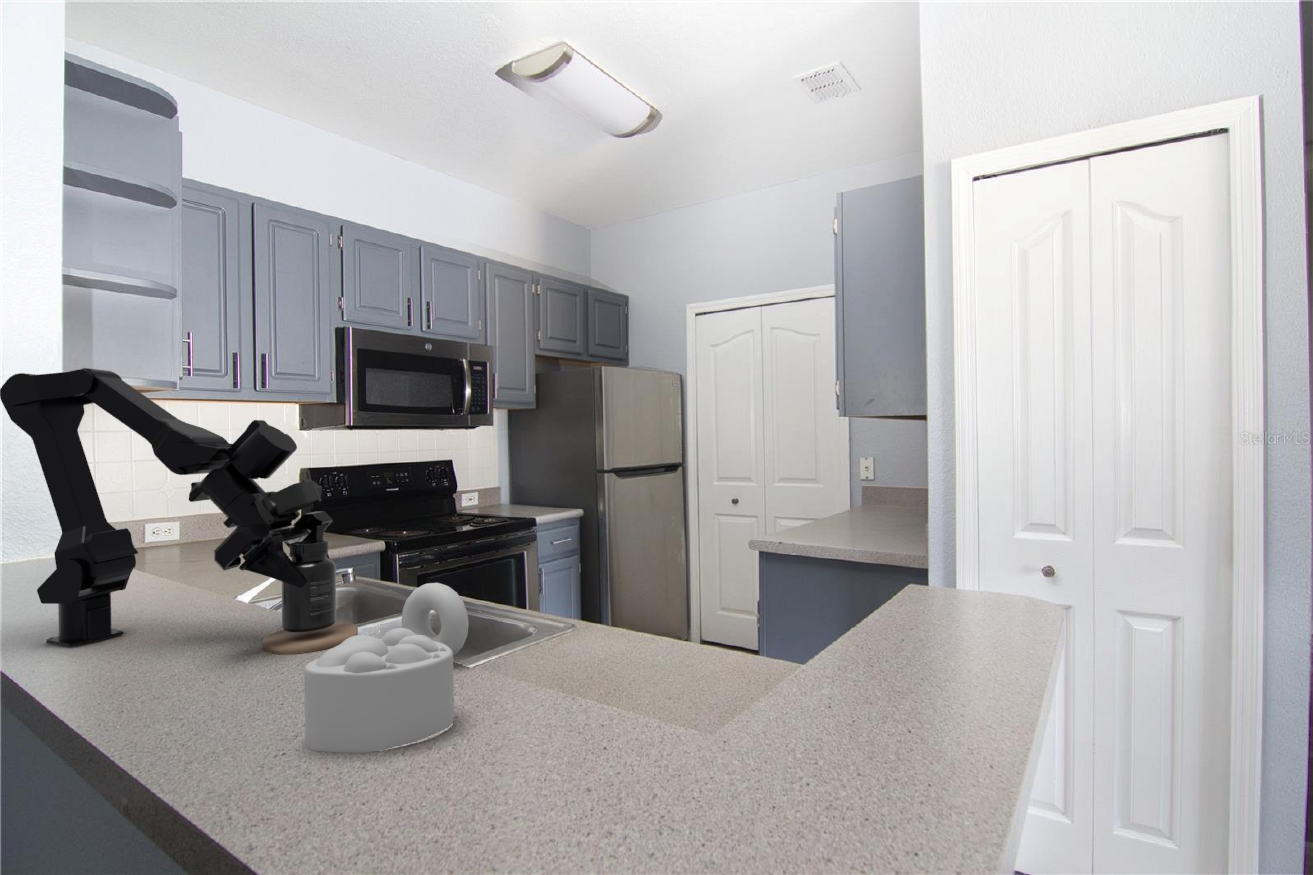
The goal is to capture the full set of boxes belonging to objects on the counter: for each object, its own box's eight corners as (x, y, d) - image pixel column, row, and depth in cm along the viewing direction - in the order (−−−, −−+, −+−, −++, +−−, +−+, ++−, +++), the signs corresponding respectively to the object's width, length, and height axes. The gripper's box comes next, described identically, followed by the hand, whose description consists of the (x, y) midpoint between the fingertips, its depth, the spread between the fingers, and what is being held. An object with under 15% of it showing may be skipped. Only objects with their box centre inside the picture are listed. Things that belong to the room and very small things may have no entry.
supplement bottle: (337, 618, 95) (338, 537, 95) (334, 630, 89) (335, 543, 89) (284, 623, 92) (285, 540, 93) (277, 635, 86) (278, 546, 86)
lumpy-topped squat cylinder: (349, 705, 68) (348, 624, 68) (469, 705, 68) (468, 623, 68) (290, 753, 58) (289, 657, 58) (431, 753, 57) (430, 657, 58)
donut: (475, 662, 81) (474, 583, 81) (456, 671, 78) (454, 589, 78) (416, 652, 85) (415, 577, 85) (395, 660, 82) (394, 582, 82)
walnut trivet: (241, 648, 88) (241, 642, 88) (317, 624, 99) (317, 619, 99) (304, 658, 83) (304, 652, 83) (376, 632, 94) (376, 626, 94)
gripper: (235, 464, 82) (319, 551, 81) (320, 459, 100) (388, 530, 100) (177, 525, 82) (259, 612, 82) (271, 509, 101) (339, 580, 100)
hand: (318, 579), depth 91 cm, fingers closed on supplement bottle, 7 cm apart
